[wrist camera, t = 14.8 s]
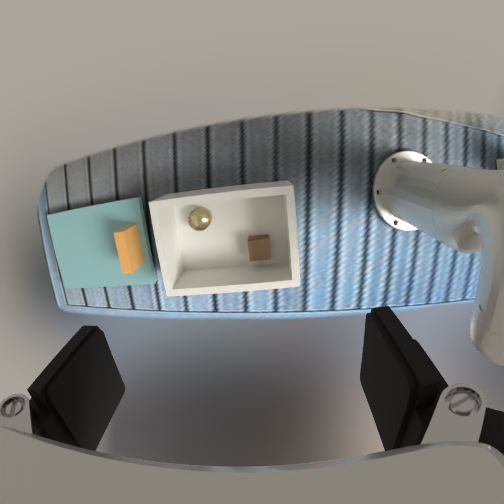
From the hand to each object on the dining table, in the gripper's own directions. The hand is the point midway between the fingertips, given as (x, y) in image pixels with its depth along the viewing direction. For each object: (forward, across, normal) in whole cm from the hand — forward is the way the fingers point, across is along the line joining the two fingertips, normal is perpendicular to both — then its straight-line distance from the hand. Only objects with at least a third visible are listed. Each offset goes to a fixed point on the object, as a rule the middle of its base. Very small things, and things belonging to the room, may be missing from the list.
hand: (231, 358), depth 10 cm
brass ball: (+35, +8, +2) cm, 36 cm away
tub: (+36, +4, +4) cm, 37 cm away
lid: (+37, +26, +4) cm, 45 cm away
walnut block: (+35, 0, +6) cm, 36 cm away
